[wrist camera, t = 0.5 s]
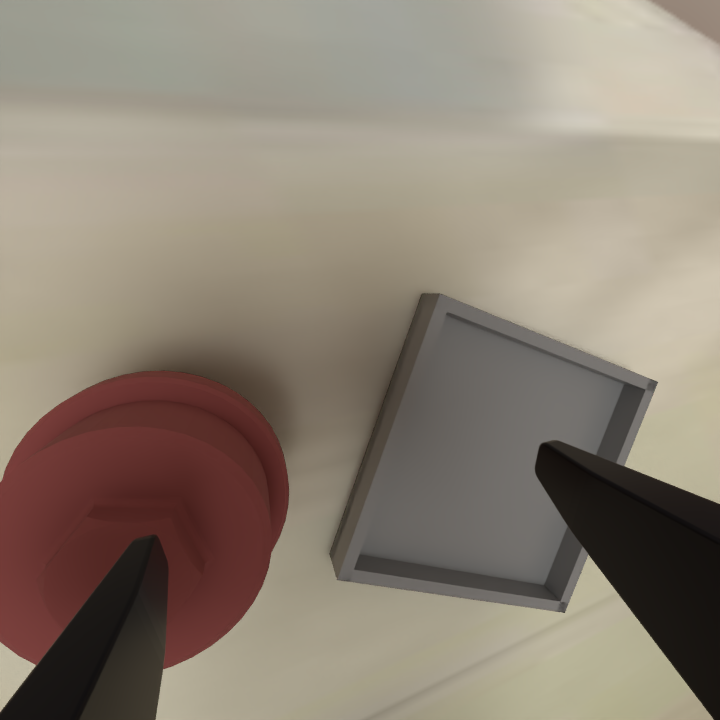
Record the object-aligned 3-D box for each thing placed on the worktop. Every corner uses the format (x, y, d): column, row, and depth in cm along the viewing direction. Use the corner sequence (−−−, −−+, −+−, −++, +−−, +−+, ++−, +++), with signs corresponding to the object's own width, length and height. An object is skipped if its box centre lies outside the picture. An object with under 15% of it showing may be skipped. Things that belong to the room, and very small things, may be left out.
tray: (541, 588, 32) (564, 612, 29) (329, 554, 26) (337, 579, 24) (626, 375, 30) (657, 382, 28) (422, 293, 25) (439, 293, 23)
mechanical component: (50, 391, 21) (236, 320, 23) (141, 545, 23) (302, 470, 25) (-212, 520, 9) (219, 351, 11) (27, 804, 11) (346, 627, 13)
